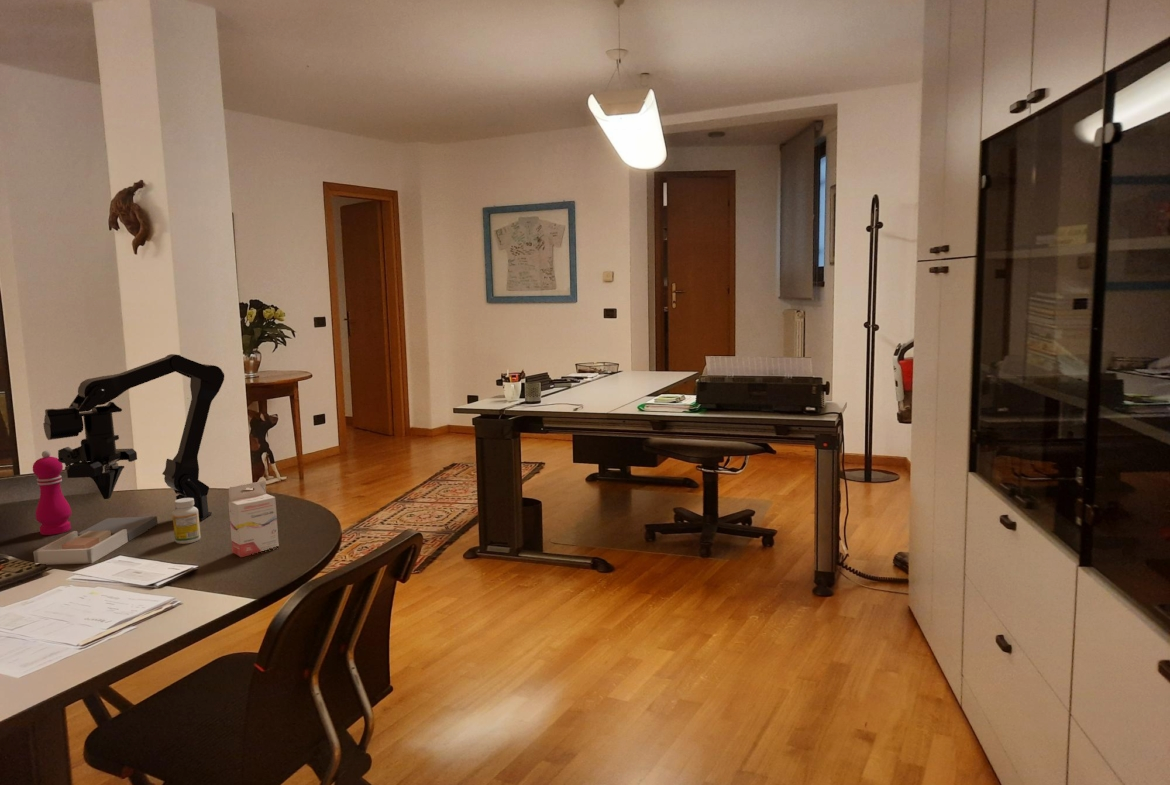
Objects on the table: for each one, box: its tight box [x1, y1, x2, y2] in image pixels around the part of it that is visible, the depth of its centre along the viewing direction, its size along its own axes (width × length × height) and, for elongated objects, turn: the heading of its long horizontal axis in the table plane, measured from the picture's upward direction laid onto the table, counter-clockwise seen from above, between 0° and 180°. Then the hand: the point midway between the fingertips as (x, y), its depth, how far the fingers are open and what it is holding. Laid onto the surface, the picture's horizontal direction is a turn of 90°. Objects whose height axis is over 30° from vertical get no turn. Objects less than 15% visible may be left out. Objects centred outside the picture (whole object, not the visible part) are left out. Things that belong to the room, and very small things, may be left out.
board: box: [77, 515, 159, 542], centre depth 190 cm, size 12×13×2 cm
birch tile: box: [75, 531, 111, 543], centre depth 180 cm, size 5×5×2 cm
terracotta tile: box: [62, 537, 99, 549], centre depth 175 cm, size 5×5×2 cm
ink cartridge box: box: [228, 480, 280, 558], centre depth 173 cm, size 9×5×15 cm, turn 135°
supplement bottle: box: [171, 498, 202, 545], centre depth 182 cm, size 5×5×10 cm
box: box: [32, 529, 129, 566], centre depth 176 cm, size 12×14×3 cm
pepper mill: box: [32, 450, 72, 536], centre depth 192 cm, size 7×7×20 cm
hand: (107, 498), depth 186 cm, fingers closed
